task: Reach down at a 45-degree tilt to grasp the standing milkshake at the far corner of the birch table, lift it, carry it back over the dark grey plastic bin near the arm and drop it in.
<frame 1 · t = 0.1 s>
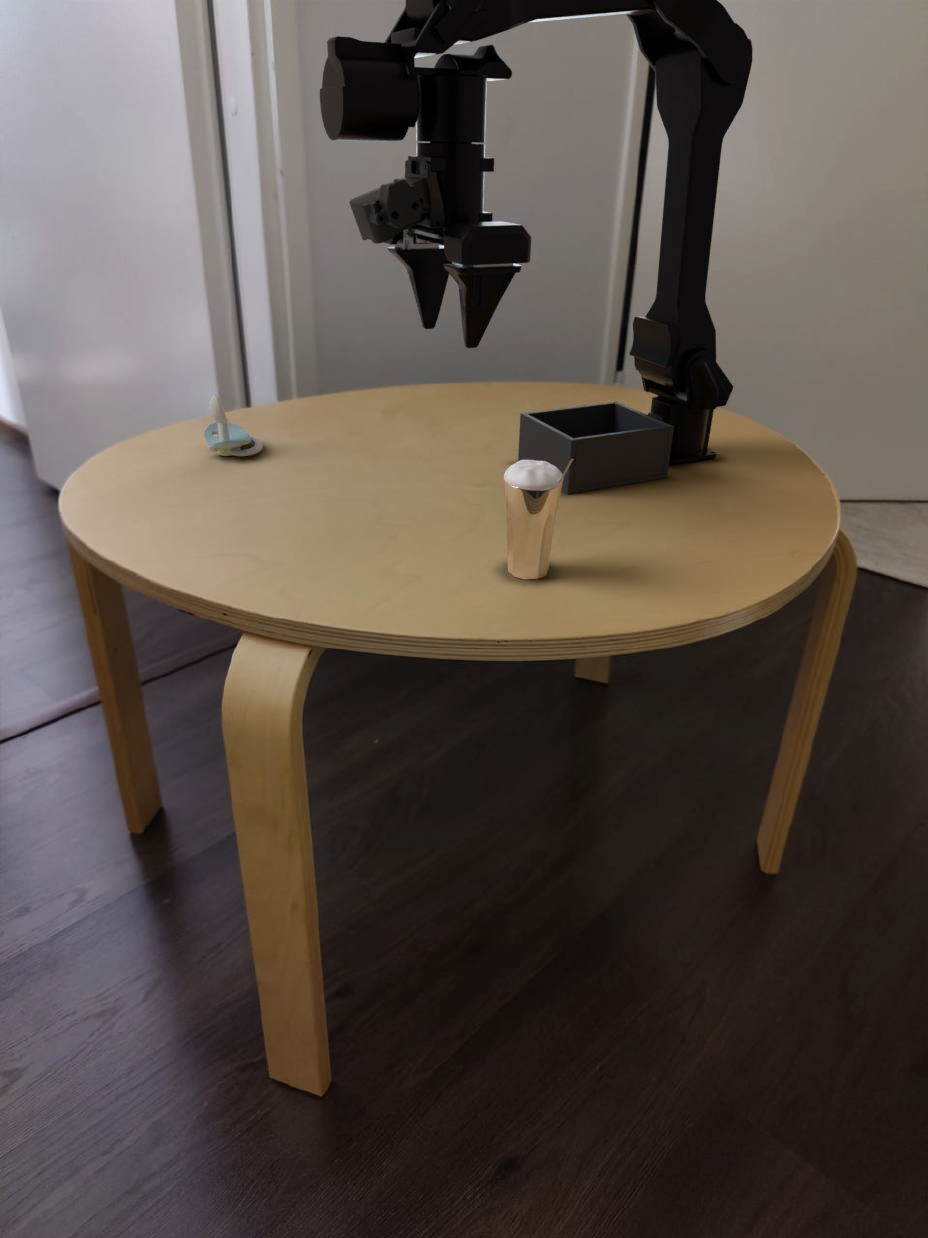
hand: (449, 337, 79), 15 cm above the table, tool pointing down, fingers open, 9 cm apart
milkshake: (532, 574, 70), on the table
bin: (591, 470, 92), on the table
pacifier: (235, 452, 95), on the table
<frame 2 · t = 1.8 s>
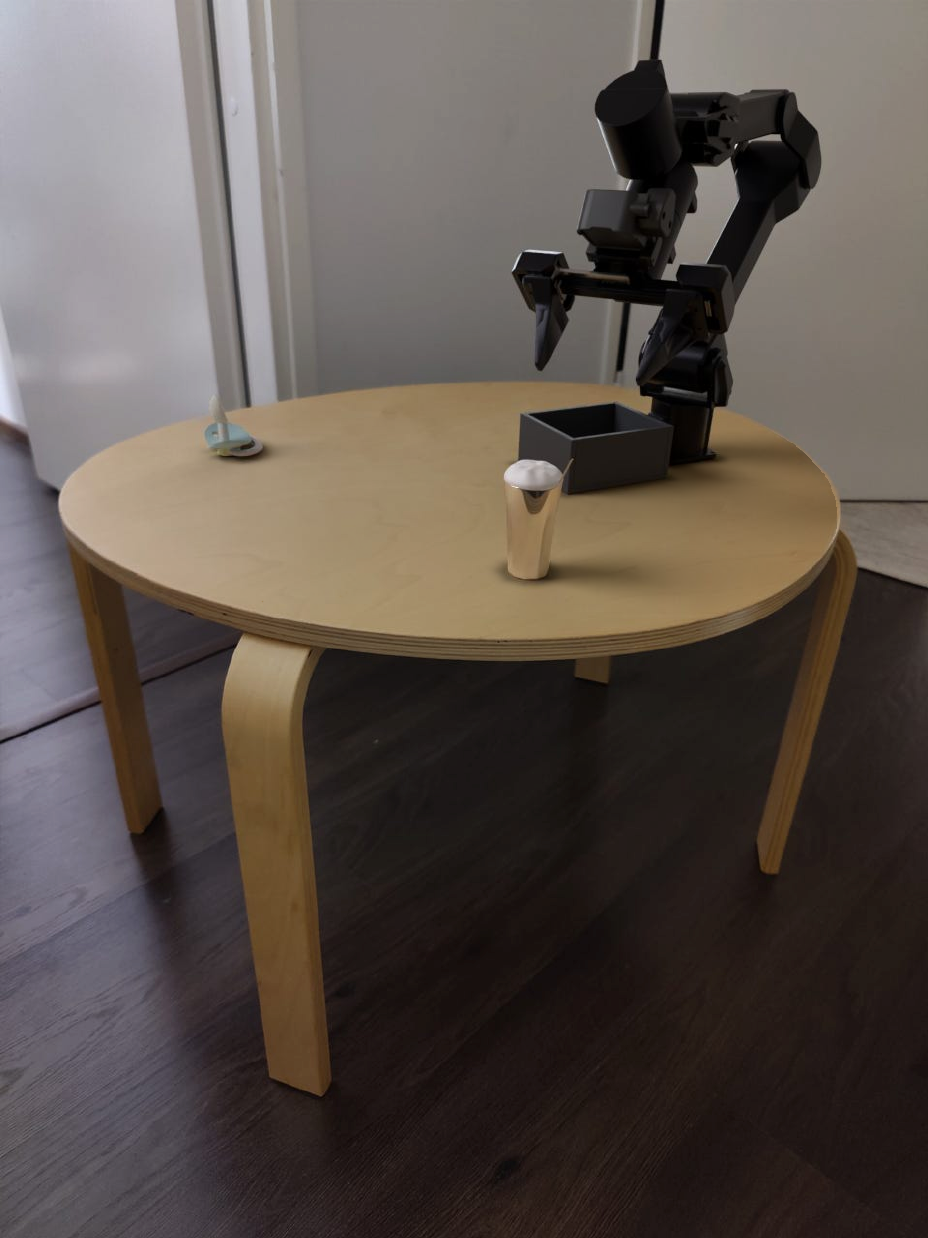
hand: (586, 375, 72), 13 cm above the table, tool tilted 45°, fingers open, 9 cm apart
nothing on the table moved.
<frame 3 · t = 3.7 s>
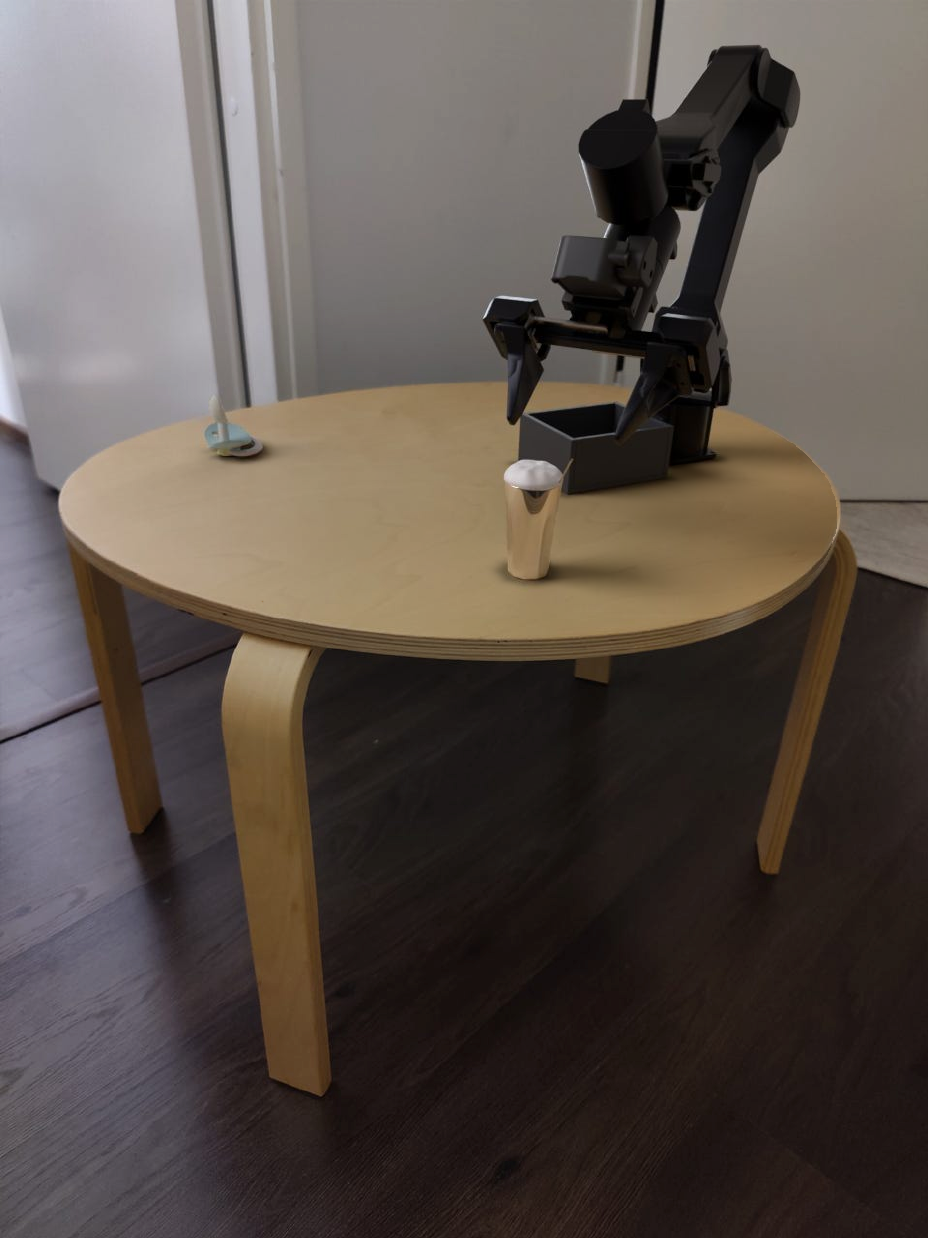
hand: (562, 431, 67), 11 cm above the table, tool tilted 45°, fingers open, 9 cm apart
nothing on the table moved.
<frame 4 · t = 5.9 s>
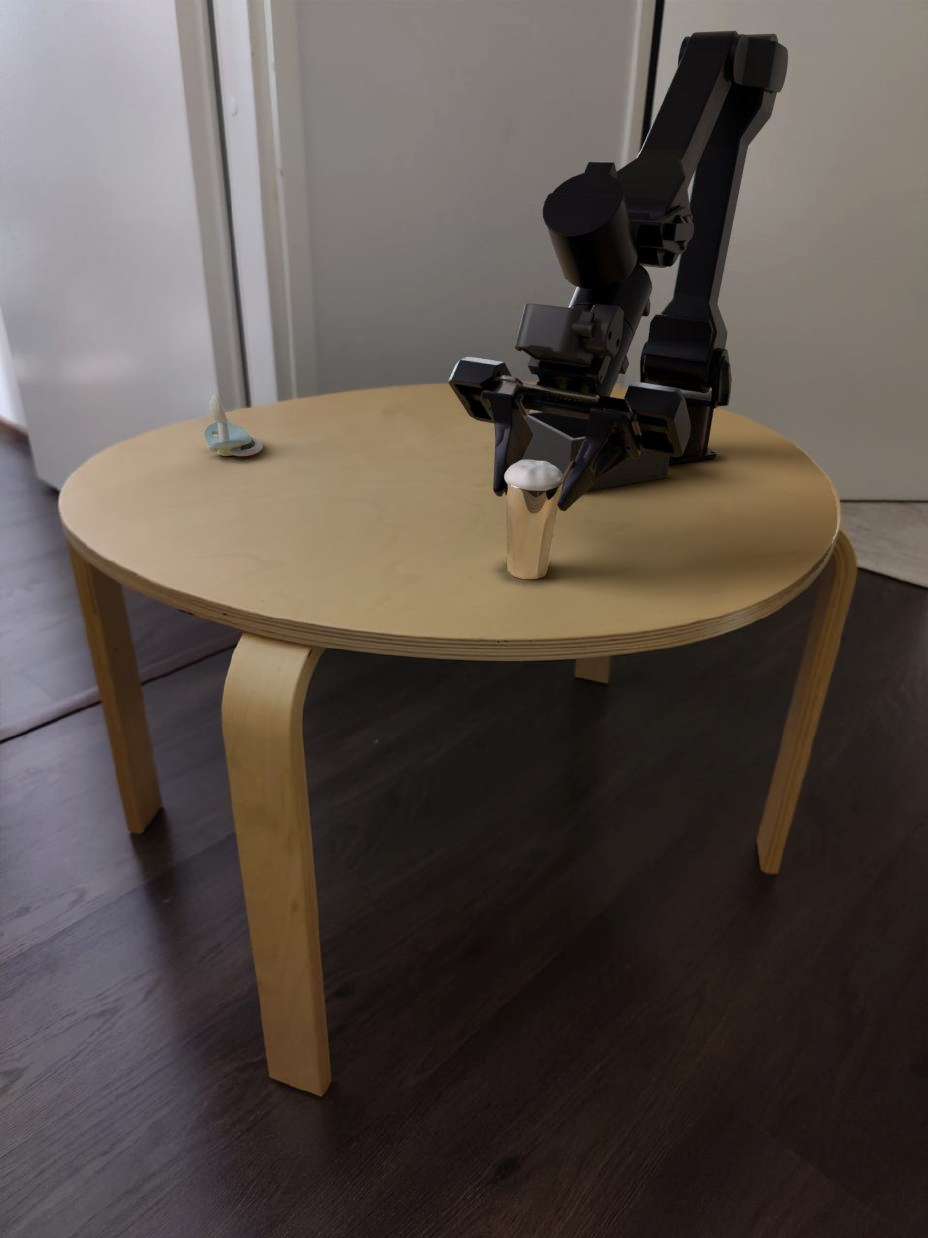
hand: (528, 501, 66), 7 cm above the table, tool tilted 45°, fingers closed on milkshake, 5 cm apart
milkshake: (531, 574, 70), on the table, touching gripper
everything else where it was.
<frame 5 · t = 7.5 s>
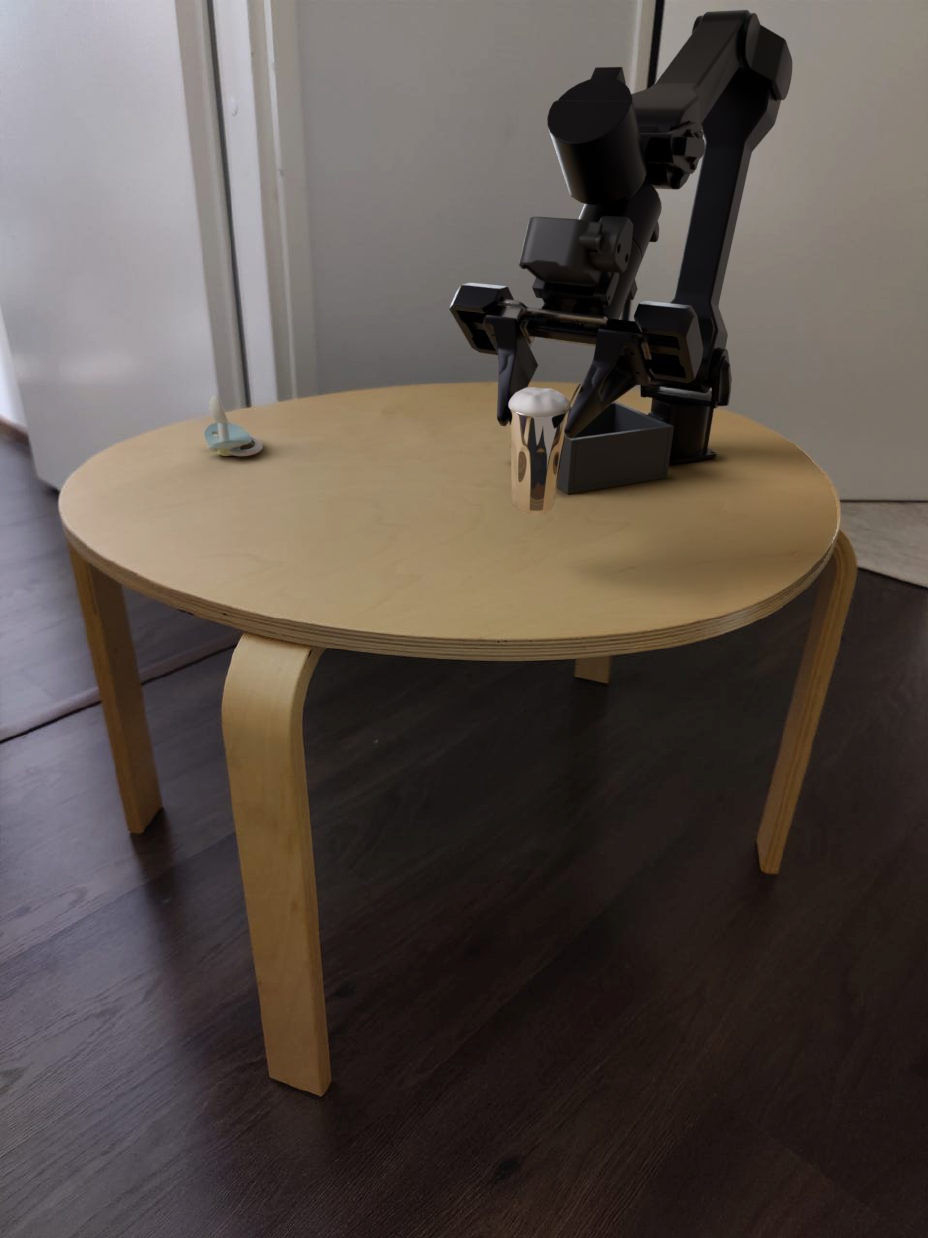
hand: (533, 429, 63), 12 cm above the table, tool tilted 45°, fingers closed on milkshake, 5 cm apart
milkshake: (537, 509, 67), point 5 cm above the table, touching gripper
everything else where it was.
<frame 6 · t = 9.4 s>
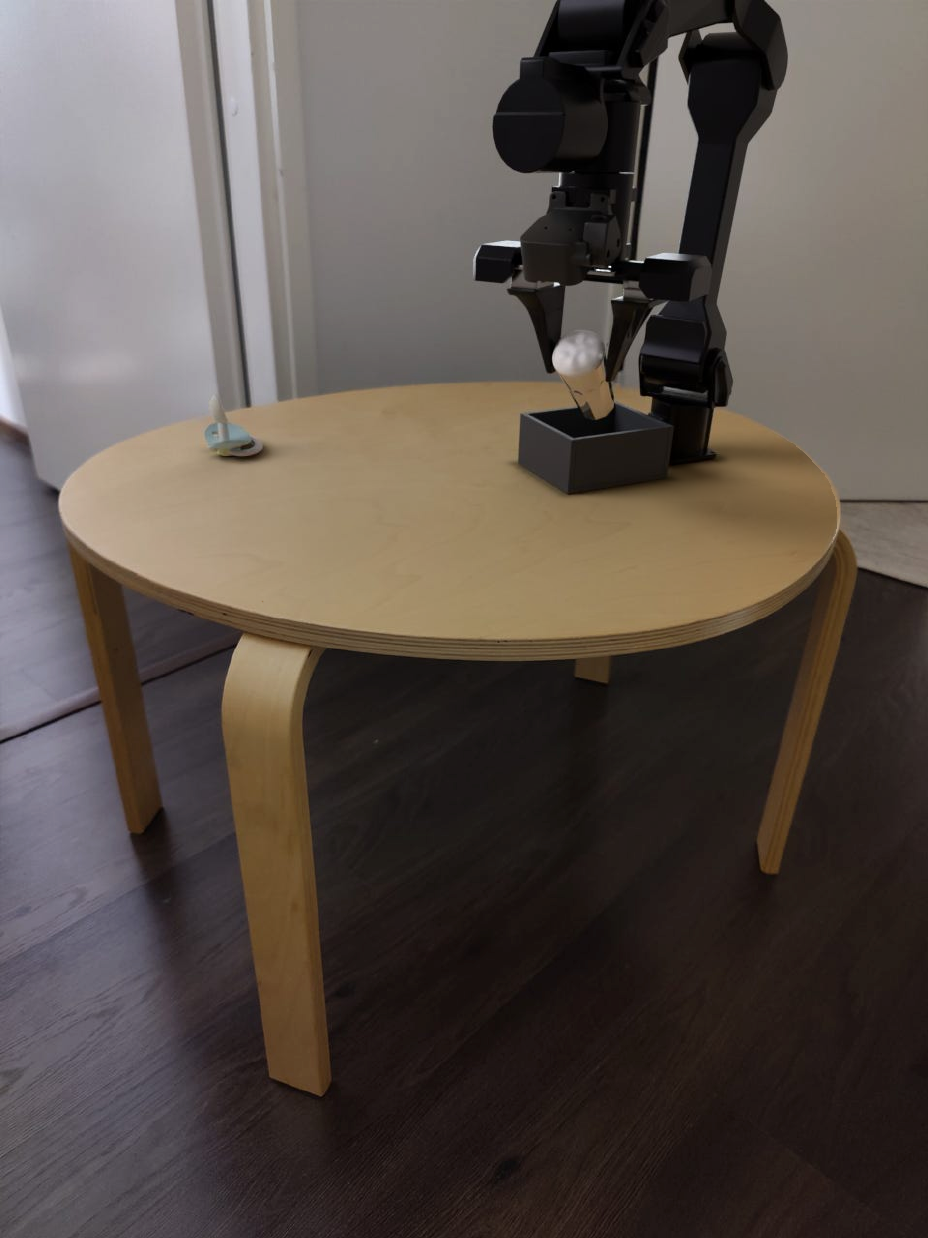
hand: (579, 376, 74), 13 cm above the table, tool pointing down, fingers closed on milkshake, 5 cm apart
milkshake: (601, 407, 80), point 9 cm above the table, touching gripper
everything else where it was.
when the fingers open (10 cm above the table, at t = 12.6 s): milkshake drops 4 cm, resting on bin.
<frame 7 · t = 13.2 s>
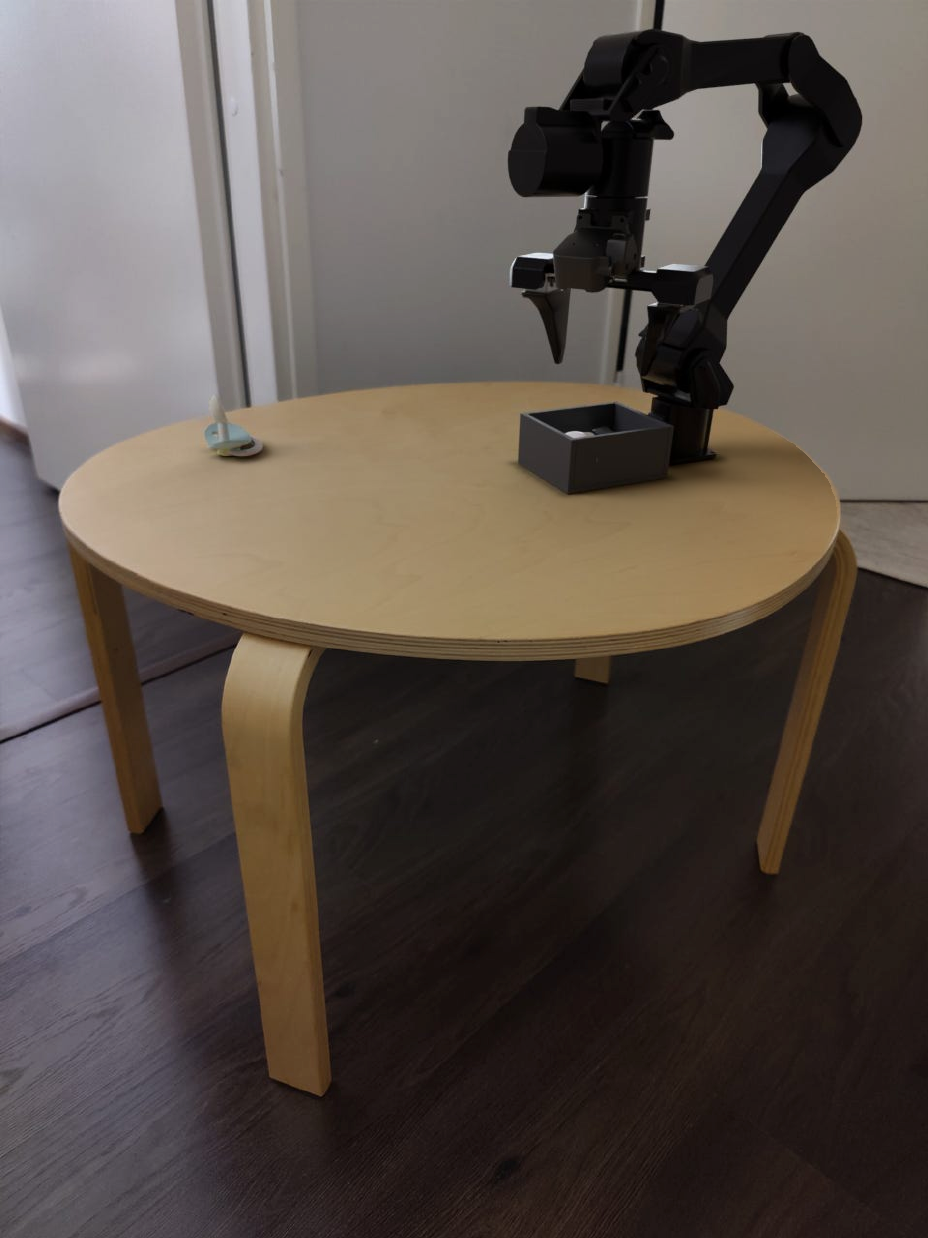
hand: (600, 369, 86), 11 cm above the table, tool pointing down, fingers open, 9 cm apart
milkshake: (605, 439, 94), point 2 cm above the table, touching bin
everything else where it was.
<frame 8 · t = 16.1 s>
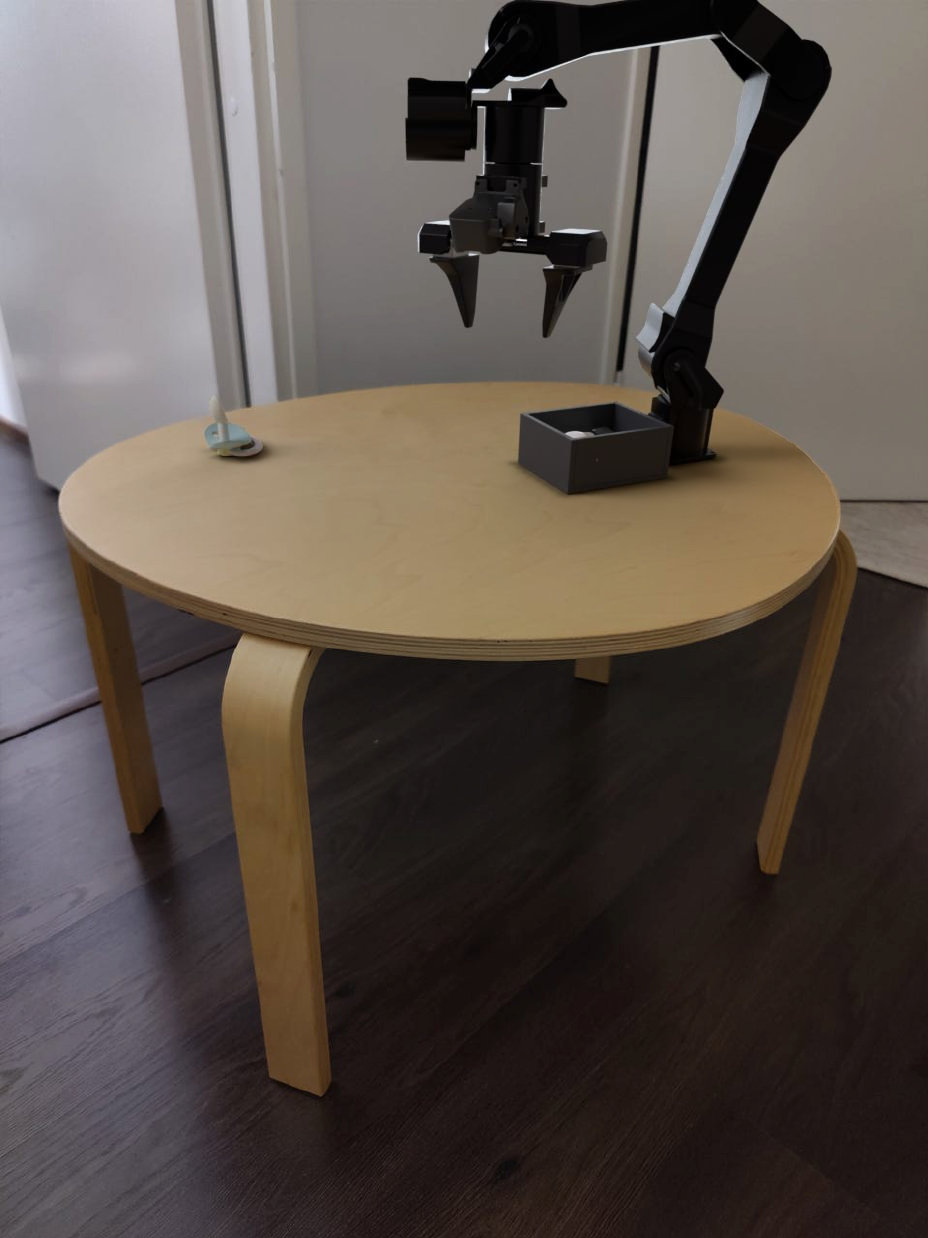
hand: (506, 332, 90), 13 cm above the table, tool pointing down, fingers open, 9 cm apart
nothing on the table moved.
at the end: milkshake inside the target area in the bin (4.3 cm from its centre), point 2.2 cm above the bin's base; the gripper is holding nothing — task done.
